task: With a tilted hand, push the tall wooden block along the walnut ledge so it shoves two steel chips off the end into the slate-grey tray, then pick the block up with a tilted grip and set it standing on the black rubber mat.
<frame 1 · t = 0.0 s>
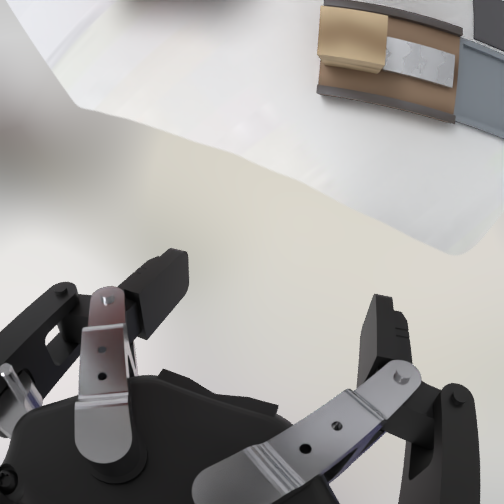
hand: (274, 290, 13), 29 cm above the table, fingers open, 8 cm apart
chip 2: (434, 67, 26), point 3 cm above the table, touching ledge
tray: (485, 89, 27), on the table
chip 1: (401, 58, 27), point 3 cm above the table, touching ledge
mat: (499, 23, 21), on the table
tall wooden block: (352, 49, 28), point 3 cm above the table, touching ledge
ledge: (389, 60, 30), on the table
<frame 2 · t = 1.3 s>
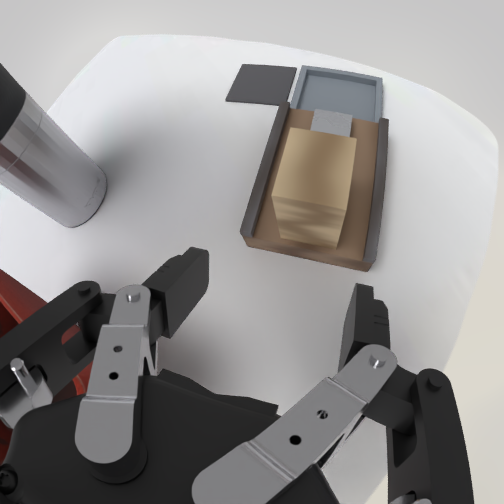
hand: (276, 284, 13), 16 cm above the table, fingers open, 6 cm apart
plant pot: (92, 398, 29), on the table
chip 2: (330, 134, 31), point 3 cm above the table, touching ledge
tray: (338, 102, 36), on the table
mat: (262, 83, 39), on the table
tall wooden block: (314, 213, 28), point 3 cm above the table, touching ledge
ledge: (322, 187, 32), on the table
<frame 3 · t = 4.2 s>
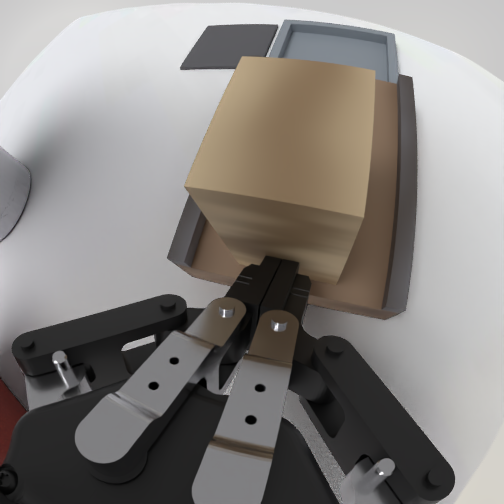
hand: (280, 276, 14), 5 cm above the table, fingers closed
plant pot: (18, 459, 17), on the table
tray: (335, 62, 24), on the table
mat: (231, 45, 27), on the table
tall wooden block: (299, 220, 17), point 3 cm above the table, touching gripper, ledge
ledge: (313, 180, 20), on the table
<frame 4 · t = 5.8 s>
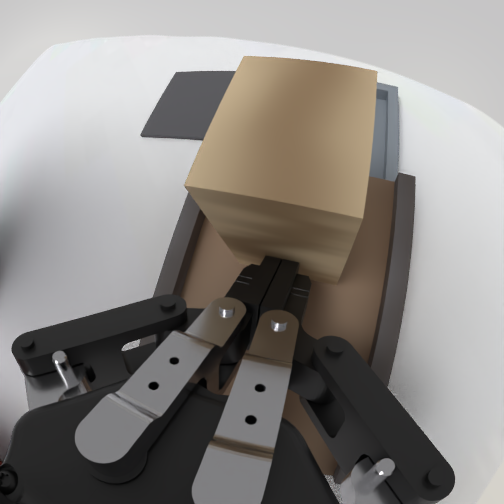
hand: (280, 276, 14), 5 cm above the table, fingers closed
tray: (321, 130, 22), on the table
mat: (199, 102, 25), on the table
tall wooden block: (301, 220, 17), point 3 cm above the table, touching ledge
ledge: (281, 310, 18), on the table
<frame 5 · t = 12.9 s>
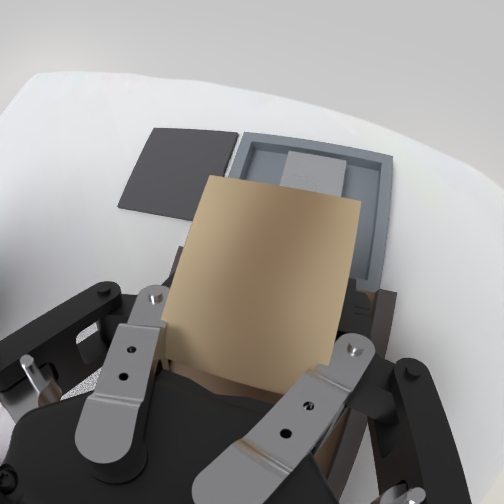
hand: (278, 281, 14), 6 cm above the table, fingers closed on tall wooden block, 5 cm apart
chip 2: (312, 179, 20), point 2 cm above the table, tilted 180°, touching chip 1, tray
tray: (305, 211, 21), on the table
mat: (177, 170, 24), on the table
tall wooden block: (279, 313, 17), point 3 cm above the table, touching gripper, ledge
ledge: (255, 407, 18), on the table
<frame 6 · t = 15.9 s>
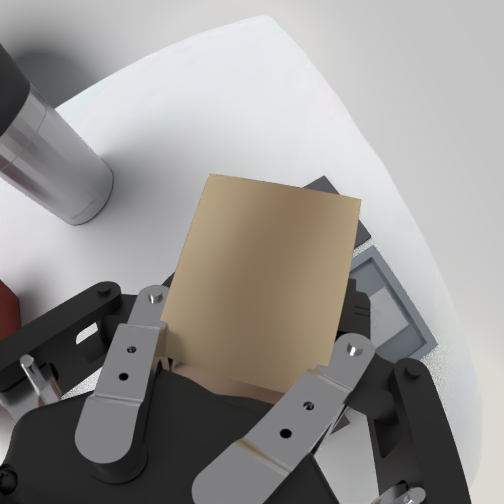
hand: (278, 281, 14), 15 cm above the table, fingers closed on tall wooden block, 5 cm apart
plant pot: (1, 349, 32), on the table
chip 2: (378, 318, 25), point 2 cm above the table, tilted 180°, touching chip 1, tray
tray: (359, 328, 27), on the table
mat: (314, 225, 30), on the table
tall wooden block: (279, 312, 17), point 12 cm above the table, touching gripper
ledge: (233, 402, 26), on the table
when the fingers open (5 cm above the table, at t = 18.9 s): tall wooden block drops 2 cm, resting on mat.
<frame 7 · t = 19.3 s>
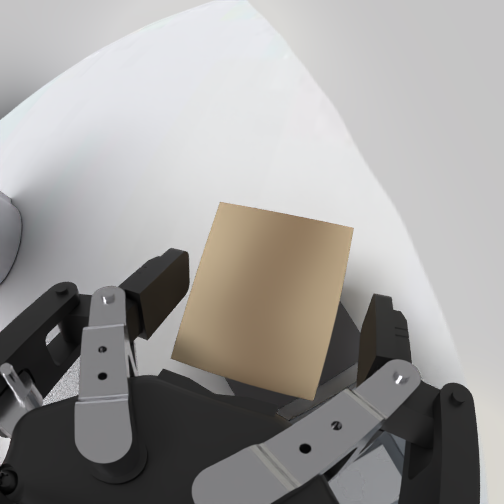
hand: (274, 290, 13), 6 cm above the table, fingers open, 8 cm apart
chip 2: (365, 488, 13), point 2 cm above the table, tilted 180°, touching chip 1, tray
tray: (337, 486, 14), on the table
mat: (277, 331, 18), on the table
tall wooden block: (280, 320, 18), resting on mat
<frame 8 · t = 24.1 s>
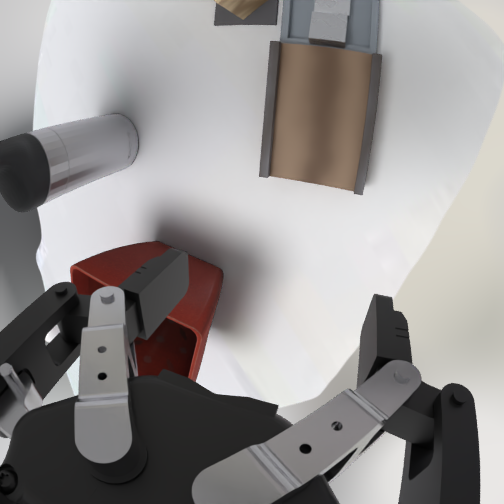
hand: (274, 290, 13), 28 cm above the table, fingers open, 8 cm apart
plant pot: (184, 283, 53), on the table
lightbulb: (72, 312, 69), on the table
tray: (331, 13, 28), on the table
chip 1: (329, 32, 29), point 1 cm above the table, tilted 18°, touching chip 2, tray
ledge: (322, 114, 34), on the table
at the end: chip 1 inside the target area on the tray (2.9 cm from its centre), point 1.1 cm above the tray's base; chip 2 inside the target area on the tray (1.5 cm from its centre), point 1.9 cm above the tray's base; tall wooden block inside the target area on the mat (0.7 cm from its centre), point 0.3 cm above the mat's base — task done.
